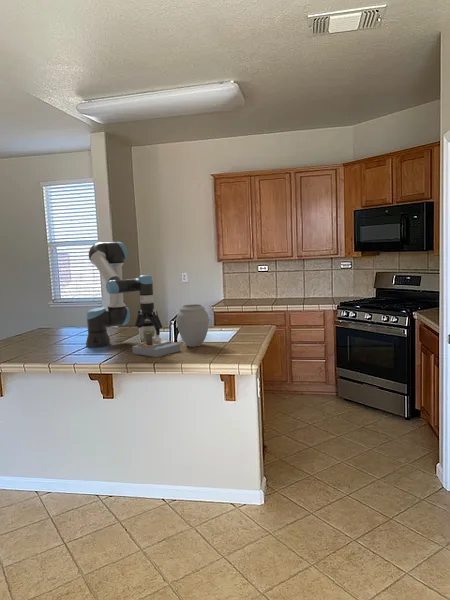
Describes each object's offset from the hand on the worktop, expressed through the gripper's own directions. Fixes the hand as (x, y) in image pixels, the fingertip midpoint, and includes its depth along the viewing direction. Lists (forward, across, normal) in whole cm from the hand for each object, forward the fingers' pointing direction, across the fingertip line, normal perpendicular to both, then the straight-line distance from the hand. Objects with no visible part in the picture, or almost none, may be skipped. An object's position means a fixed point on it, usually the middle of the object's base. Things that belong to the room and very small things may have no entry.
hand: (149, 339), depth 262 cm
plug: (+8, 0, 0) cm, 8 cm away
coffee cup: (+8, -15, +12) cm, 21 cm away
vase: (+8, +10, +26) cm, 29 cm away
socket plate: (+8, +2, +3) cm, 8 cm away
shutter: (+4, 0, +8) cm, 9 cm away
